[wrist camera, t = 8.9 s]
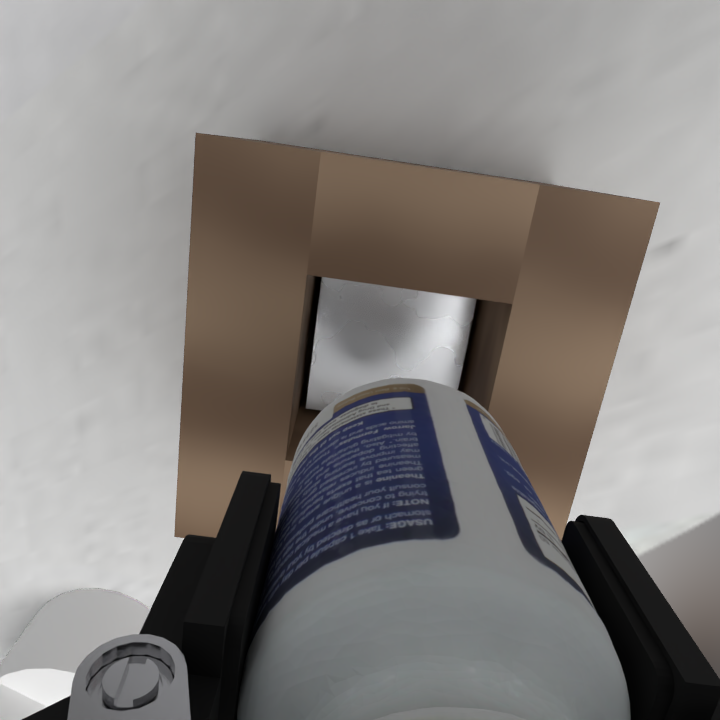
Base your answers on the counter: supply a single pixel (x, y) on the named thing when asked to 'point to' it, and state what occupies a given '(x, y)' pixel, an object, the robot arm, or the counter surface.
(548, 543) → the pill bottle
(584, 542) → the robot arm
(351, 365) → the white marbled square tile
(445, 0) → the counter surface
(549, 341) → the socket block
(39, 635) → the cylinder with rectangular tab
